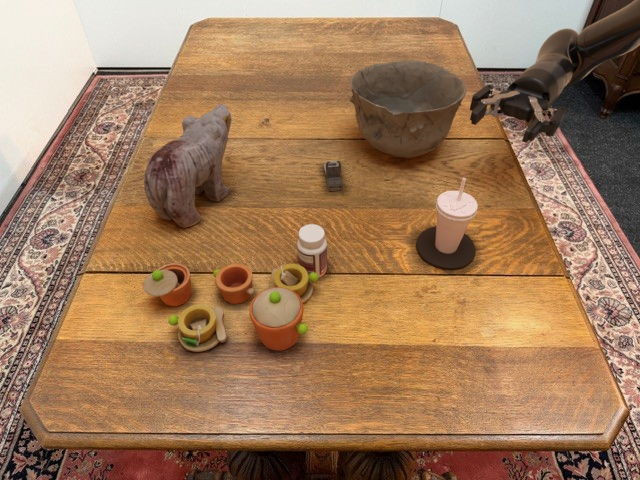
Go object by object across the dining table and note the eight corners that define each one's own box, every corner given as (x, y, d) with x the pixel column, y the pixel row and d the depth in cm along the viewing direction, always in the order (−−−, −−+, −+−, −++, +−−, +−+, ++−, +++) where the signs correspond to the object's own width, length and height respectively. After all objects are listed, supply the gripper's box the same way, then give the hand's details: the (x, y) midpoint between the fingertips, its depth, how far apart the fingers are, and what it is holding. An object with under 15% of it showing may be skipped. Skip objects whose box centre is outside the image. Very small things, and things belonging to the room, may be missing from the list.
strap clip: (323, 166, 98) (322, 149, 95) (337, 165, 99) (337, 148, 96) (328, 192, 92) (328, 174, 89) (343, 190, 93) (344, 173, 90)
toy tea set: (318, 273, 78) (317, 230, 71) (319, 356, 67) (319, 316, 60) (159, 275, 77) (143, 233, 71) (135, 359, 67) (113, 319, 60)
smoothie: (470, 240, 82) (490, 176, 72) (457, 264, 78) (477, 199, 68) (435, 228, 84) (450, 163, 74) (421, 250, 80) (435, 185, 70)
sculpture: (241, 168, 98) (231, 102, 87) (217, 238, 84) (201, 169, 73) (183, 165, 99) (166, 100, 88) (149, 234, 84) (124, 165, 74)
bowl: (332, 135, 106) (333, 71, 96) (412, 112, 113) (421, 50, 103) (385, 190, 93) (393, 122, 82) (472, 159, 100) (490, 93, 89)
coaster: (475, 233, 84) (475, 230, 84) (474, 274, 77) (475, 272, 77) (418, 224, 86) (418, 222, 85) (413, 264, 79) (413, 262, 78)
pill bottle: (320, 254, 80) (319, 218, 75) (331, 274, 77) (332, 238, 71) (294, 263, 79) (291, 227, 73) (304, 283, 76) (303, 247, 70)
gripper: (503, 57, 84) (462, 92, 75) (586, 80, 78) (552, 121, 68) (492, 96, 89) (453, 133, 80) (569, 120, 83) (536, 163, 74)
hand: (499, 127), depth 74 cm, fingers open, 8 cm apart
